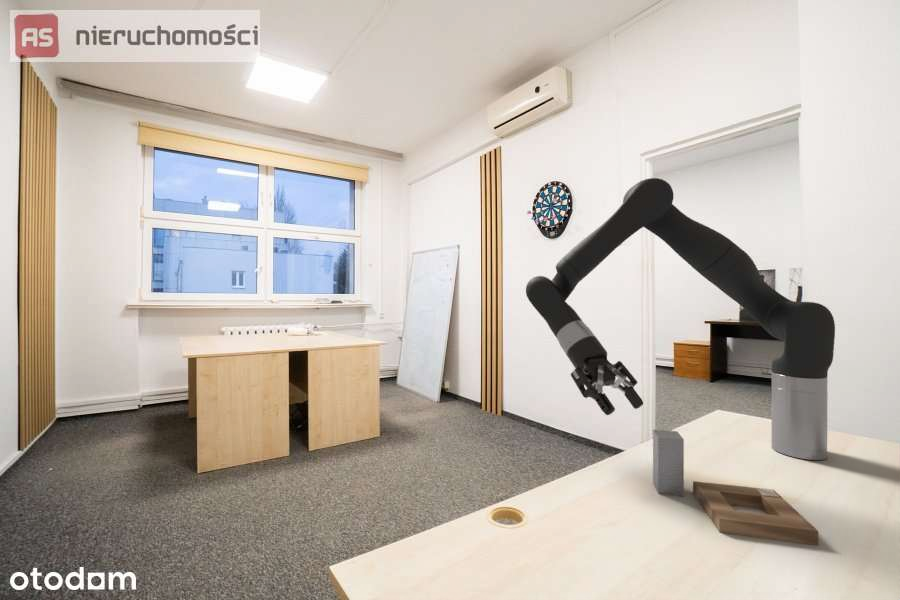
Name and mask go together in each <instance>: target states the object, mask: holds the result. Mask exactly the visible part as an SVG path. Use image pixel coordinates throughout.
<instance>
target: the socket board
mask: <svg viewBox="0 0 900 600" xmlns="http://www.w3.org/2000/svg"><path fill="white" fill-rule="evenodd" d="M692 493H693V495H694V496H695V497H696V498H695V499H697V500H698V503H700V505H701V507H702V508H703V510H704V511H705V512H706V514H707V516H708V517H709V518H710V520H711V522H712V524H714V526H715V527H716V529H717V531H718V532H719V533H724V534H725V533H726V534H731V535H738V536H747V537H755V538H761V539H770V540H777V541H783V542H791V543H798V544H805V545H806V544H807V545H813V546H819V530H818V529H817V528H816V527H815V526H813V525H812V523H810V522H809V521H808V520H807V519H806V518H805V517H804V516H803V515H802V514H800V513H799V512H798V511H797V510H796V509H795V508H794V507H793V506H792V505H791V504H790V503H789V502H788V501H786V500H785V499H784V498H783V497H782V496H781V495H780V494H779V493H778V492H777V491H776V490H775V489H770V488H763V487H762V488H761V487H750V486H743V485H735V484H734V485H733V484H724V483H713V482H706V481H705V482H704V481H696V480H695V481H694V480H693V481H692ZM731 505H732V506H737V507H738V506H739V507H746V508H757V509H761V510H762V511H763V512H764V513H757V512H750V511H749V512H748V511H741V510H734V507H732V506H731Z"/></svg>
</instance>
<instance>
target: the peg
mask: <svg viewBox="0 0 900 600" xmlns="http://www.w3.org/2000/svg"><path fill="white" fill-rule="evenodd" d="M684 441H685V439H684V438H683V437H682V435H681V434H680V433H679V432H678V431H676V430H675V431H674V430H666V429H665V430H663V429H662V430H661V429H652V483H653V486H654V488H655V491H656V492H657V494H658V495H667V496H675V497H677V496H678V497H685V489H684V488H685V487H684V486H685V484H684V483H685V475H684V474H685V472H684V471H685V470H684V463H685V461H684V459H685V458H684V457H685V456H684V455H685V451H684V450H685V449H684V448H685V446H684V445H685V442H684Z"/></svg>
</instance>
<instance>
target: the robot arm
mask: <svg viewBox="0 0 900 600" xmlns="http://www.w3.org/2000/svg"><path fill="white" fill-rule="evenodd" d="M673 202H674V190H673V188H672V186H671V184H670V183H669V182H667V181H666V180H664V179H662V178H659V177H657V178H656V177H652V178H646V179H643V180H640V181H638V182H637V183H635V184H634V185H633V186H631V188H629V189H628V190H627V191H625V194H624V196H623V200H622V204H621V205H620V206H619V207H618V208H617V209H616V210H615V212H613V214H612V215H611V216H610V217H609V218H607V220H606V221H604V222H603V223H602V224H601V225H600V226H599V227H597V228H596V229H595V230H593V232H591V233H590V234H589V235H587V236H586V237H585V238H583V240H581V241H580V242H578V244H575V246H574V247H573V248H571V250H569V251H568V253H566V254H565V255H564V256H563V257H562V258H560V260H558V262H557V263H556V265H555V269H556V274H555V276H554V277H553V278H551V279H550V278H549V277H547V276H543V275H537V276H534V277H532V278H531V279H530V280H529V281H528V282H527V284H526V286H525V294H526V297H527V299H528V301H529V303H531V305H532V306H533V307H534V309H535V310H536V311H537V312H538V314H539V315H540V316H541V317H542V318H543V319H544V321H545V322H546V323H547V326H548V327H549V329H550V330H551V332H552V333H553V335H554V336H555V338H556V339H557V341H558V344H559V346H560V348H561V349H562V351H563V352H564V354H565V355H566V357H567V358H568V359H569V361H570V362H571V365H572V366H573V367H574V369H573V370H572V372H570V376H571V378H572V380H573V381H574V383H575V385H576V387H577V388H578V390H579V392H580V393H581V395H582V397H583V398H585V399H587V398H591V399H592V400H594V401H595V402H596V404H597V405H598V407H599V408H600V410H601V411H602V412H603V413H604V414H605V416H610V415H612V414H613V413H614V412H615V411H616V408H615V406H614V405H613V404H612V401H610V399H609V397H608V396H607V394H606V393H605V392H603V390H604V388H603V387H611V388H612V389H617V390H619V391H621V392H622V393H623V394H624V396H625V397H626V399H627V400H628V402H629V403H630V405H631V406H632V408H634V409H635V410H637V409H640V408H641V407H642V406H643V405H644V401H643V400H642V398H641V397H640V395H639V394H638V393H637V391H636V390H635V388H634V387H635V386H636V385H637V384H638V381H637V379H636V378H635V377H634V376H633V375H632V373H631V372H630V370H629V369H628V368H627V367H626V366H625V365H624V364H623V362H622V361H621V360H618V361H617V362H616V363H613V364H612V363H611V362H610V361H609V360H608V352H607V350H606V348H605V347H604V346H603V345H602V343H601V342H600V340H599V339H598V338H597V336H596V335H595V334H594V333H593V331H592V330H591V329H590V327H589V326H587V324H586V323H585V322H584V321H583V320H582V318H581V317H580V316H579V314H578V313H577V312H576V311H575V309H574V308H573V307H572V306H571V305H569V304H568V303H567V302H566V301H567V300H568V298H569V297H570V295H571V294H572V293H573V291H574V290H575V289H576V286H577V285H578V284H579V283H580V282H581V281H582V280H584V279H585V278H586V277H587V276H589V275H590V273H591V272H593V271H594V269H596V268H597V267H598V266H600V264H601V263H602V262H603V261H604V260H606V259H607V257H608V256H610V254H612V253H613V252H614V251H615V250H616V249H617V248H618V247H619V246H621V245H622V243H624V242H625V241H626V240H628V239H629V238H630V237H631V236H633V235H634V234H636V233H637V232H638V231H639V230H642V228H645V229H646V230H648V231H649V232H650V233H652V234H654V235H655V236H657V238H659V239H661V241H663V242H664V243H665V244H667V245H668V247H670V248H671V249H672V250H673V251H674V252H675V253H676V254H677V255H678V256H679V257H680V258H681V259H682V260H684V261H685V262H686V263H687V264H688V265H690V267H691V268H692V269H694V270H695V271H696V272H697V273H699V274H700V275H701V276H702V277H703V278H704V279H706V280H707V281H708V282H709V283H711V284H713V286H715V287H716V288H718V289H719V291H722V292H723V293H724V294H725V295H726V296H727V297H729V298H730V299H731V300H733V301H734V302H736V303H737V304H738V305H739V306H741V307H742V308H743V310H745V311H746V312H747V313H748V314H749V315H750V316H751V317H752V318H753V319H754V321H756V322H757V323H758V324H759V325H760V326H761V327H762V328H763V330H765V332H767V333H768V334H769V335H770V336H771V337H772V338H775V339H778V340H779V341H781V342H784V347H783V352H782V354H781V355H780V356H779V357H777V358H774V359H772V361H771V432H770V433H771V448H772V449H773V450H774V451H775V452H778V453H781V454H784V455H786V456H788V457H789V456H790V457H791V458H792V457H793V458H798V459H802V460H803V459H804V460H810V461H823V460H827V458H828V371H829V369H830V367H831V365H832V364H833V360H834V352H835V351H834V349H835V336H836V324H835V319H834V316H833V314H832V312H831V311H830V309H829V308H828V307H827V306H825V305H823V304H821V303H818V302H814V301H813V302H812V301H793V300H791V299H790V298H787V297H785V296H784V295H783V294H781V293H779V292H778V291H776V290H775V289H774V288H773V287H771V286H770V285H769V284H768V283H767V282H766V281H765V280H764V279H763V277H762V275H761V274H760V272H759V270H758V268H757V265H756V264H755V262H754V260H753V259H752V258H751V256H750V255H749V254H748V253H747V252H746V251H745V250H743V248H741V247H739V246H738V244H736V243H735V242H734V241H732V240H731V239H730V238H729V237H727V236H726V235H724V234H722V233H720V232H719V231H717V230H715V229H712V227H709V226H707V225H705V224H703V223H700V222H699V221H697V220H693V218H690V217H689V216H687V215H686V214H685V213H683V212H682V211H681V210H679V208H677V206H676V205H675V204H673ZM616 378H617V379H616Z"/></svg>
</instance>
